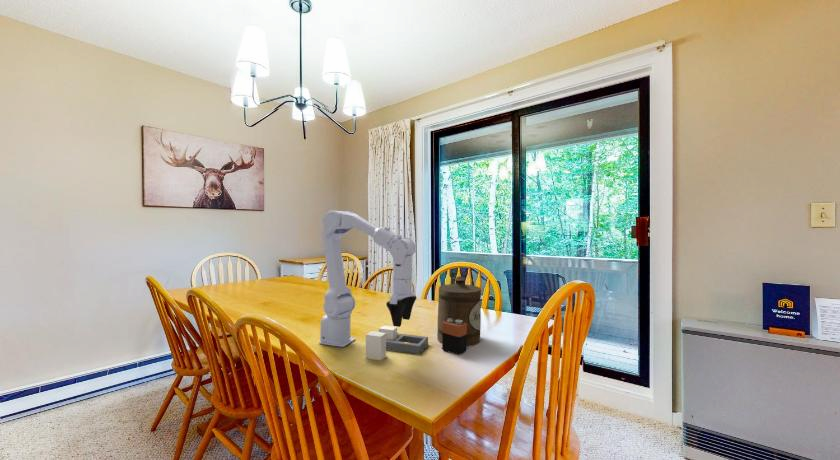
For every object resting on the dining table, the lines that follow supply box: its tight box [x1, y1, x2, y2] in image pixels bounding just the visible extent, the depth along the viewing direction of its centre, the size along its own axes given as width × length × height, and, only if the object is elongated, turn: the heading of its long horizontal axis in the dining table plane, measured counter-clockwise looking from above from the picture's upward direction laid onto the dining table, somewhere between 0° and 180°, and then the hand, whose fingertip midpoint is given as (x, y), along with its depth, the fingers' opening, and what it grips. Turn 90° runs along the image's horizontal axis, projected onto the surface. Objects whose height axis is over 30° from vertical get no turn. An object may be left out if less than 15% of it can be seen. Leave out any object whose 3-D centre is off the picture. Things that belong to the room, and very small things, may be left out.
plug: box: [365, 330, 387, 361], centre depth 101 cm, size 5×4×7 cm
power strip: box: [378, 325, 429, 355], centre depth 111 cm, size 17×9×6 cm, turn 71°
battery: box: [441, 318, 467, 356], centre depth 107 cm, size 4×7×10 cm, turn 49°
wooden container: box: [436, 276, 482, 347], centre depth 117 cm, size 15×15×22 cm
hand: (401, 322), depth 103 cm, fingers open, 7 cm apart
